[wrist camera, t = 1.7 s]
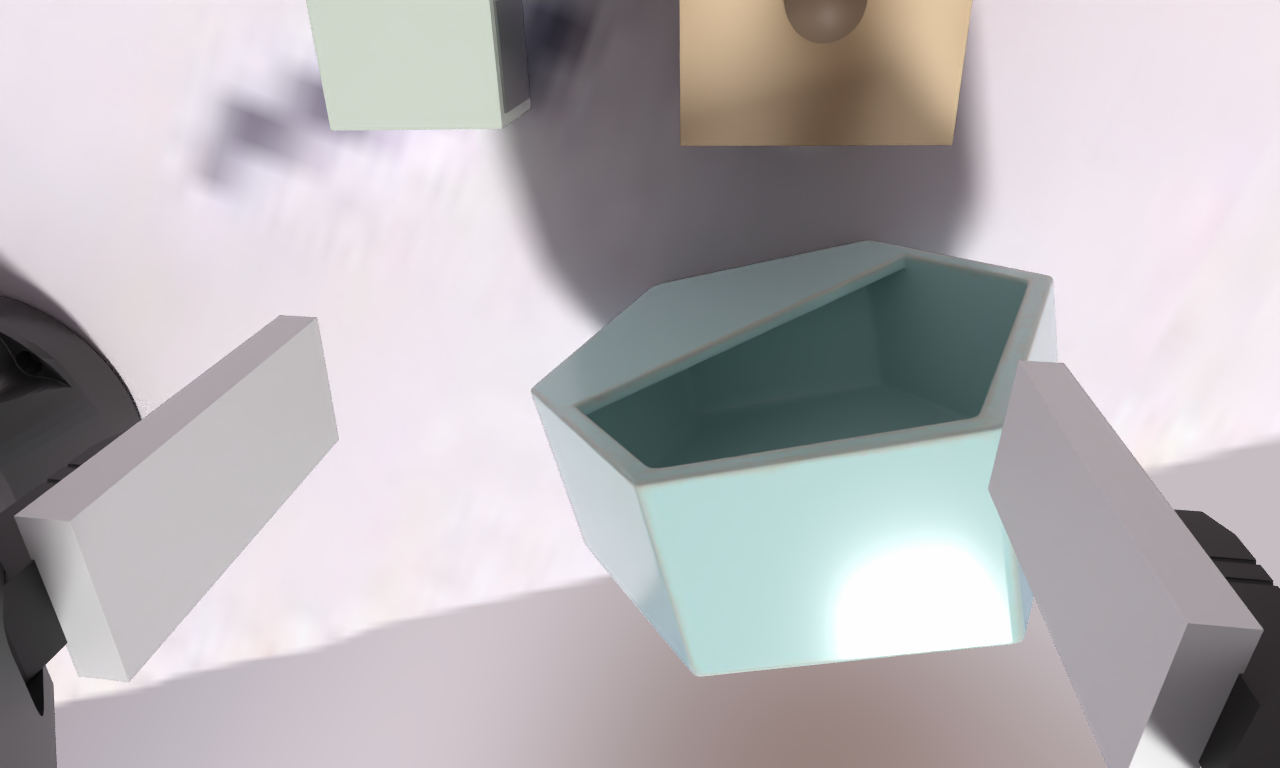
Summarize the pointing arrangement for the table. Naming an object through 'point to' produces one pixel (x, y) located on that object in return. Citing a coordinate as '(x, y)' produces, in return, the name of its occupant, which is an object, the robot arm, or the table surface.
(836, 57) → the lid
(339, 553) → the table surface
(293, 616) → the table surface
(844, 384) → the planter
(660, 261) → the table surface
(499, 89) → the pale green block
